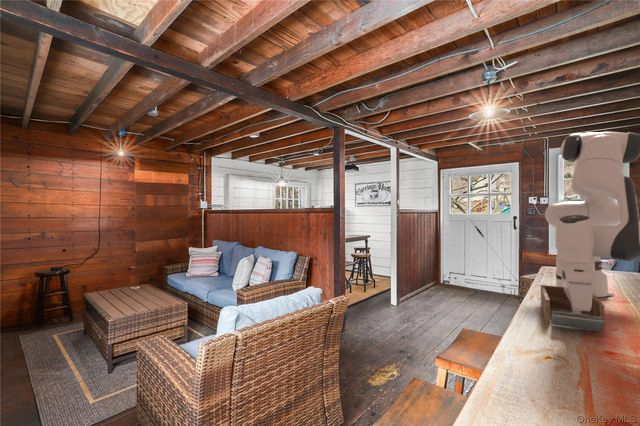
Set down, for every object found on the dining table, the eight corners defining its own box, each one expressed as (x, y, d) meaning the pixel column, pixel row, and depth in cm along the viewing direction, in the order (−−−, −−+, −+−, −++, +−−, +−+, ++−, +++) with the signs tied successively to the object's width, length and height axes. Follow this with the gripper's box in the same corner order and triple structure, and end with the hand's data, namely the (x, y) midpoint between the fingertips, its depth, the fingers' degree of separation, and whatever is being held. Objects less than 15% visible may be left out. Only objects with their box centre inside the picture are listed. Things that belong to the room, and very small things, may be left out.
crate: (541, 306, 114) (540, 285, 114) (590, 311, 107) (589, 289, 107) (546, 324, 97) (545, 299, 97) (605, 332, 90) (604, 305, 90)
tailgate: (551, 321, 97) (552, 311, 92) (598, 327, 91) (603, 317, 86) (551, 324, 96) (553, 314, 91) (599, 331, 90) (604, 321, 85)
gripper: (557, 262, 101) (558, 303, 101) (566, 277, 83) (568, 326, 84) (581, 263, 97) (583, 306, 98) (597, 279, 80) (598, 330, 80)
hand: (576, 315), depth 90 cm, fingers closed
